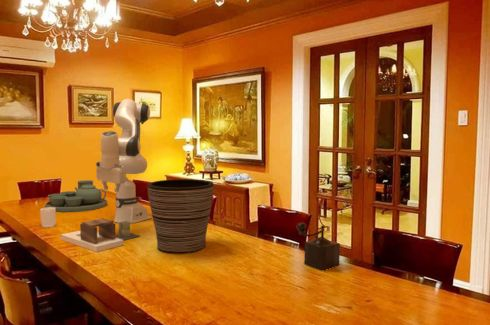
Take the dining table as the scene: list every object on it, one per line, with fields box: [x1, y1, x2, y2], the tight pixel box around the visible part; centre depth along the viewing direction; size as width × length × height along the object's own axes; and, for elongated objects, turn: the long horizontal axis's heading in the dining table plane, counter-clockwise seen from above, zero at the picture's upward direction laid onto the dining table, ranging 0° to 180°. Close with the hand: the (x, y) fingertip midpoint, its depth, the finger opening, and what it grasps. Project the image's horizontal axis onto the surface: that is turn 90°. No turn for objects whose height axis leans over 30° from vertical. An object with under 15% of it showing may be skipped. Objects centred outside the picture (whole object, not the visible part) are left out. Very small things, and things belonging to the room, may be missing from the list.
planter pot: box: [147, 178, 215, 255], centre depth 190 cm, size 30×30×30 cm
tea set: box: [44, 179, 108, 213], centre depth 285 cm, size 40×40×16 cm
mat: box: [116, 232, 141, 242], centre depth 208 cm, size 11×11×1 cm
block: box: [118, 221, 131, 237], centre depth 208 cm, size 4×4×7 cm
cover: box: [79, 218, 117, 244], centre depth 194 cm, size 11×12×8 cm
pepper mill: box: [296, 222, 341, 271], centre depth 165 cm, size 16×11×18 cm
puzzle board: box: [60, 230, 124, 253], centre depth 198 cm, size 14×32×2 cm, turn 51°
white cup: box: [39, 207, 57, 228], centre depth 229 cm, size 8×8×10 cm
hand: (111, 190), depth 208 cm, fingers open, 8 cm apart
